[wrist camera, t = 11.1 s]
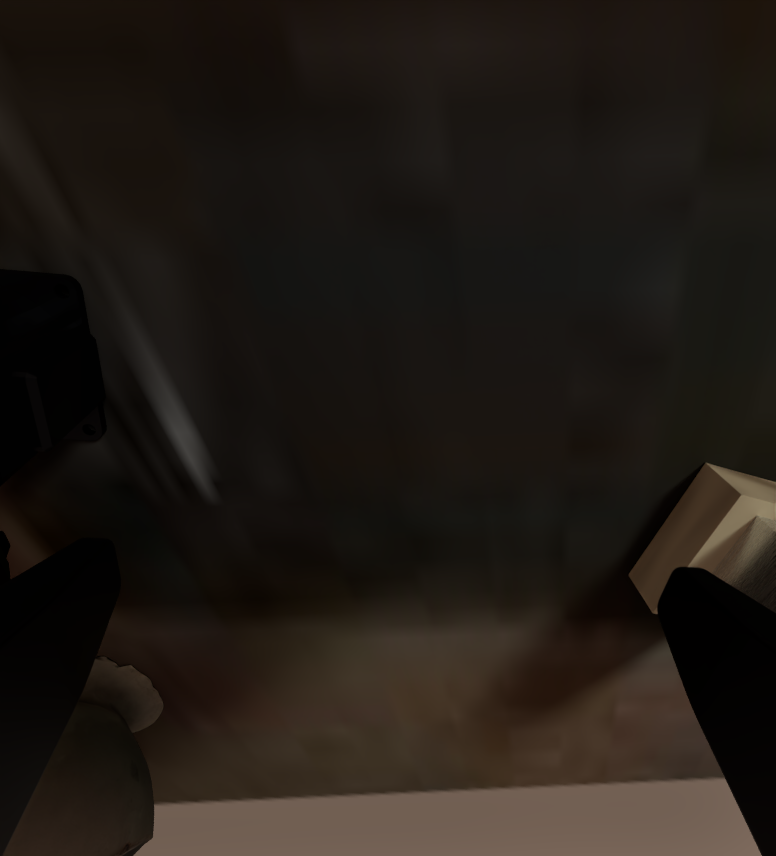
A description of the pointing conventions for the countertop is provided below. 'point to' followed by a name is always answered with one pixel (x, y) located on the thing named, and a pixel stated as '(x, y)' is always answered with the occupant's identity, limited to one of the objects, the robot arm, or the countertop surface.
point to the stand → (703, 527)
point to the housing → (753, 562)
